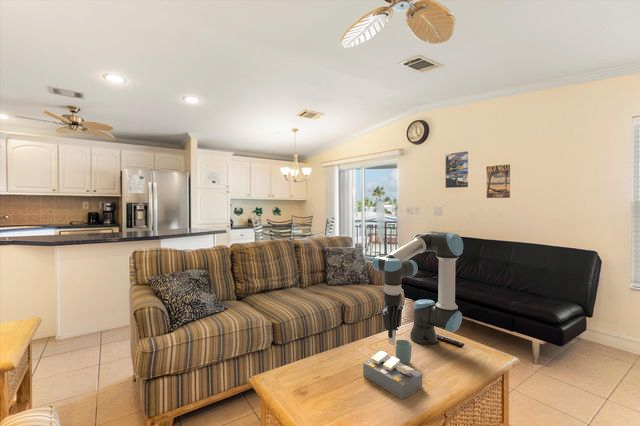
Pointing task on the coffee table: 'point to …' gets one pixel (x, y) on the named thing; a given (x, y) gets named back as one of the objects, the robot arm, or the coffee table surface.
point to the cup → (403, 351)
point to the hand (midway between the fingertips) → (391, 343)
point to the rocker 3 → (405, 369)
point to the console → (393, 378)
